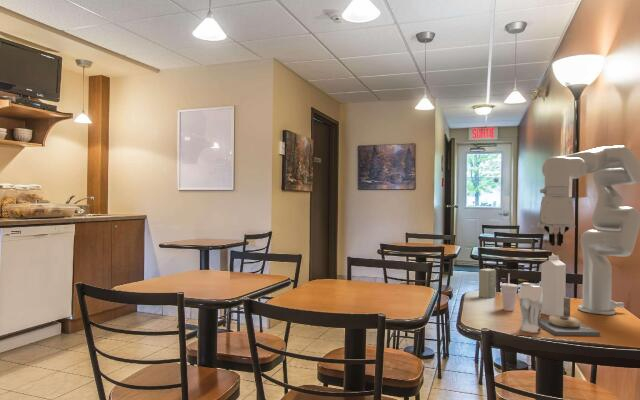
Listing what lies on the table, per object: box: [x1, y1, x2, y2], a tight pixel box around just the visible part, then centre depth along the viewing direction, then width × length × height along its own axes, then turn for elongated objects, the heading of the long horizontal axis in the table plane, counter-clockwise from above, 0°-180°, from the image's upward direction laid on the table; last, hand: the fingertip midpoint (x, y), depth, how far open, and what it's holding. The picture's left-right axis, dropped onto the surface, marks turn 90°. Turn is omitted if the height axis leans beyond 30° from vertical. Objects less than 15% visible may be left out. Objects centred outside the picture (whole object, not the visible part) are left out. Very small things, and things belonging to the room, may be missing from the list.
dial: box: [548, 296, 581, 327], centre depth 150 cm, size 9×11×7 cm
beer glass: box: [518, 282, 543, 334], centre depth 146 cm, size 7×7×15 cm
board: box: [540, 317, 601, 337], centre depth 149 cm, size 14×16×2 cm
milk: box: [540, 254, 567, 316], centre depth 168 cm, size 6×6×22 cm
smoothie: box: [500, 272, 519, 312], centre depth 174 cm, size 6×6×14 cm
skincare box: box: [478, 267, 497, 299], centre depth 197 cm, size 6×4×12 cm
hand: (555, 245), depth 156 cm, fingers closed
